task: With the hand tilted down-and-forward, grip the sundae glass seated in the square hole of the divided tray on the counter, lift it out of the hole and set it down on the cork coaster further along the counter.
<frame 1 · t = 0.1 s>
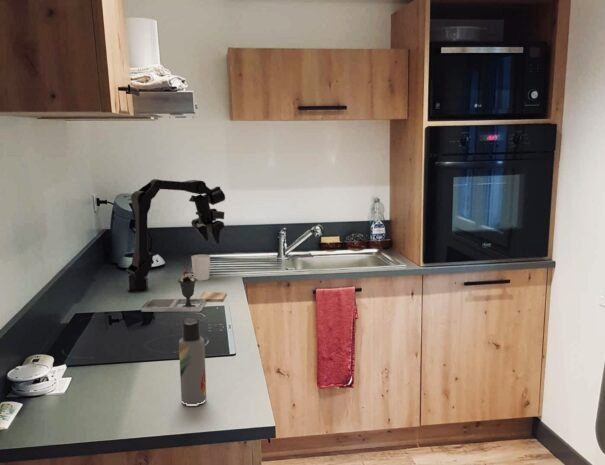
hand: (212, 242, 239), 15 cm above the table, tool pointing down, fingers open, 9 cm apart
coaster: (212, 298, 209), on the table
divided tray: (174, 306, 199), on the table
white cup: (201, 279, 238), on the table
sundae: (188, 307, 199), resting in divided tray
lotion bottle: (194, 402, 127), on the table
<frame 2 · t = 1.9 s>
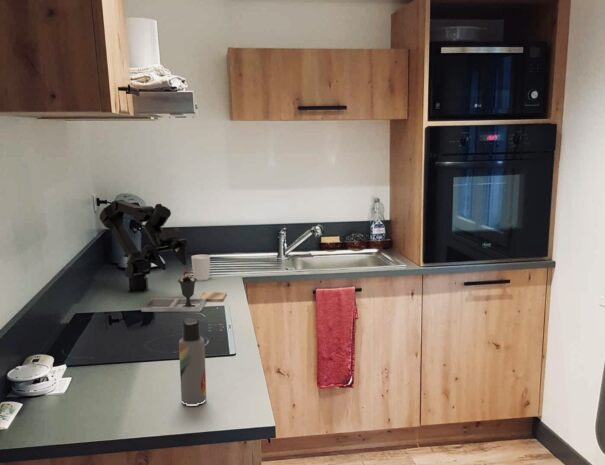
hand: (175, 267, 202), 13 cm above the table, tool tilted 45°, fingers open, 9 cm apart
nothing on the table moved.
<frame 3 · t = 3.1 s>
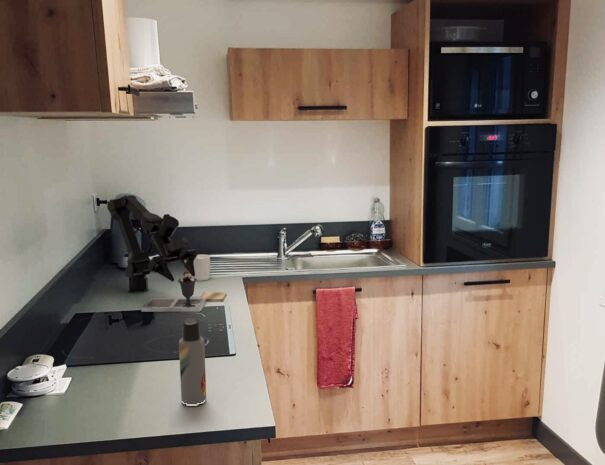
hand: (184, 278, 198), 10 cm above the table, tool tilted 45°, fingers open, 9 cm apart
nothing on the table moved.
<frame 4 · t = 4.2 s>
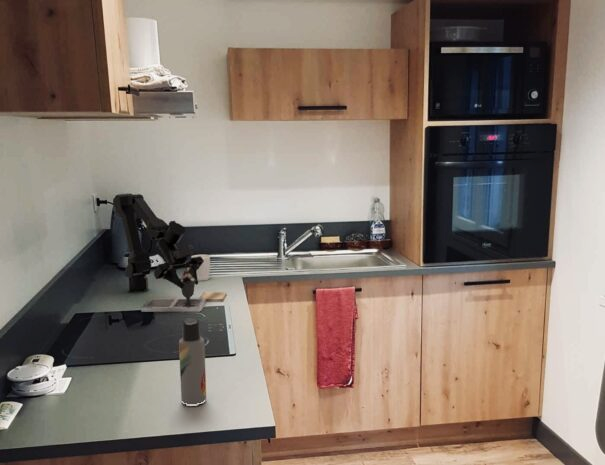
hand: (189, 286, 196), 8 cm above the table, tool tilted 45°, fingers closed on sundae, 6 cm apart
sundae: (188, 307, 199), resting in divided tray, touching gripper
everything else where it was.
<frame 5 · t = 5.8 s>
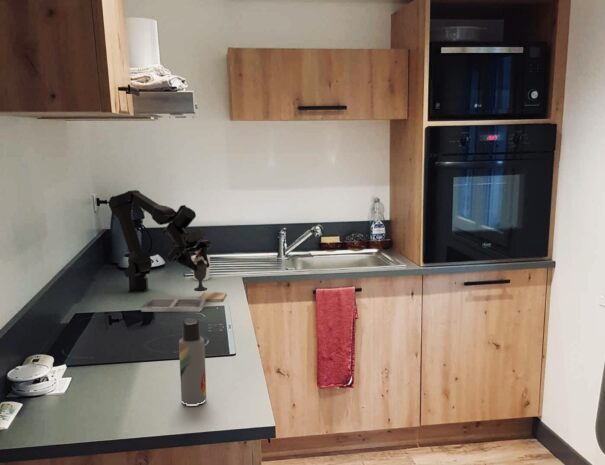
hand: (202, 268, 200), 13 cm above the table, tool tilted 45°, fingers closed on sundae, 6 cm apart
sundae: (200, 290, 202), point 5 cm above the table, touching gripper
everything else where it was.
when the fingers open (10 cm above the table, at t = 7.2 s): sundae drops 1 cm, resting on coaster.
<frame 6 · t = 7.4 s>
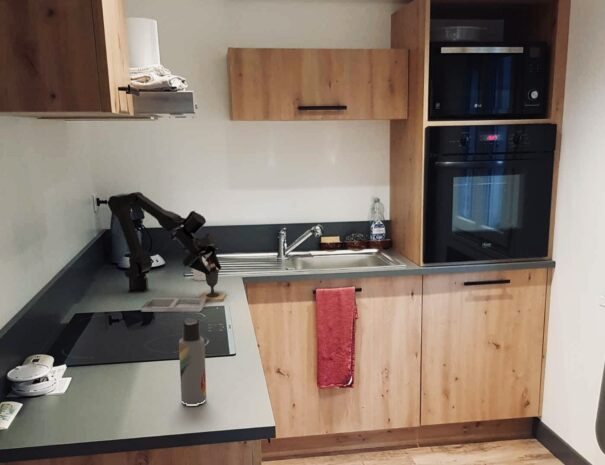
hand: (215, 271, 207), 11 cm above the table, tool tilted 45°, fingers open, 8 cm apart
sundae: (212, 295, 209), point 1 cm above the table, touching coaster
everything else where it was.
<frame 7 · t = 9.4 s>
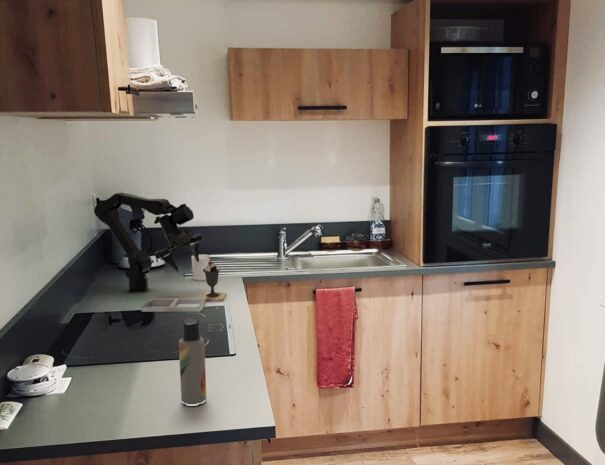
hand: (188, 266, 212), 11 cm above the table, tool tilted 25°, fingers open, 9 cm apart
nothing on the table moved.
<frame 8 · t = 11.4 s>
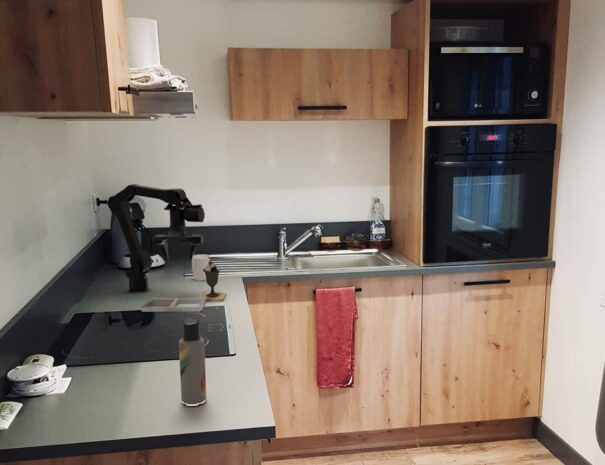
hand: (179, 260, 214), 13 cm above the table, tool pointing down, fingers open, 9 cm apart
nothing on the table moved.
at the end: sundae inside the target area on the coaster (0.3 cm from its centre), point 0.8 cm above the coaster's base; sundae tilted 0°; the gripper is holding nothing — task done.
